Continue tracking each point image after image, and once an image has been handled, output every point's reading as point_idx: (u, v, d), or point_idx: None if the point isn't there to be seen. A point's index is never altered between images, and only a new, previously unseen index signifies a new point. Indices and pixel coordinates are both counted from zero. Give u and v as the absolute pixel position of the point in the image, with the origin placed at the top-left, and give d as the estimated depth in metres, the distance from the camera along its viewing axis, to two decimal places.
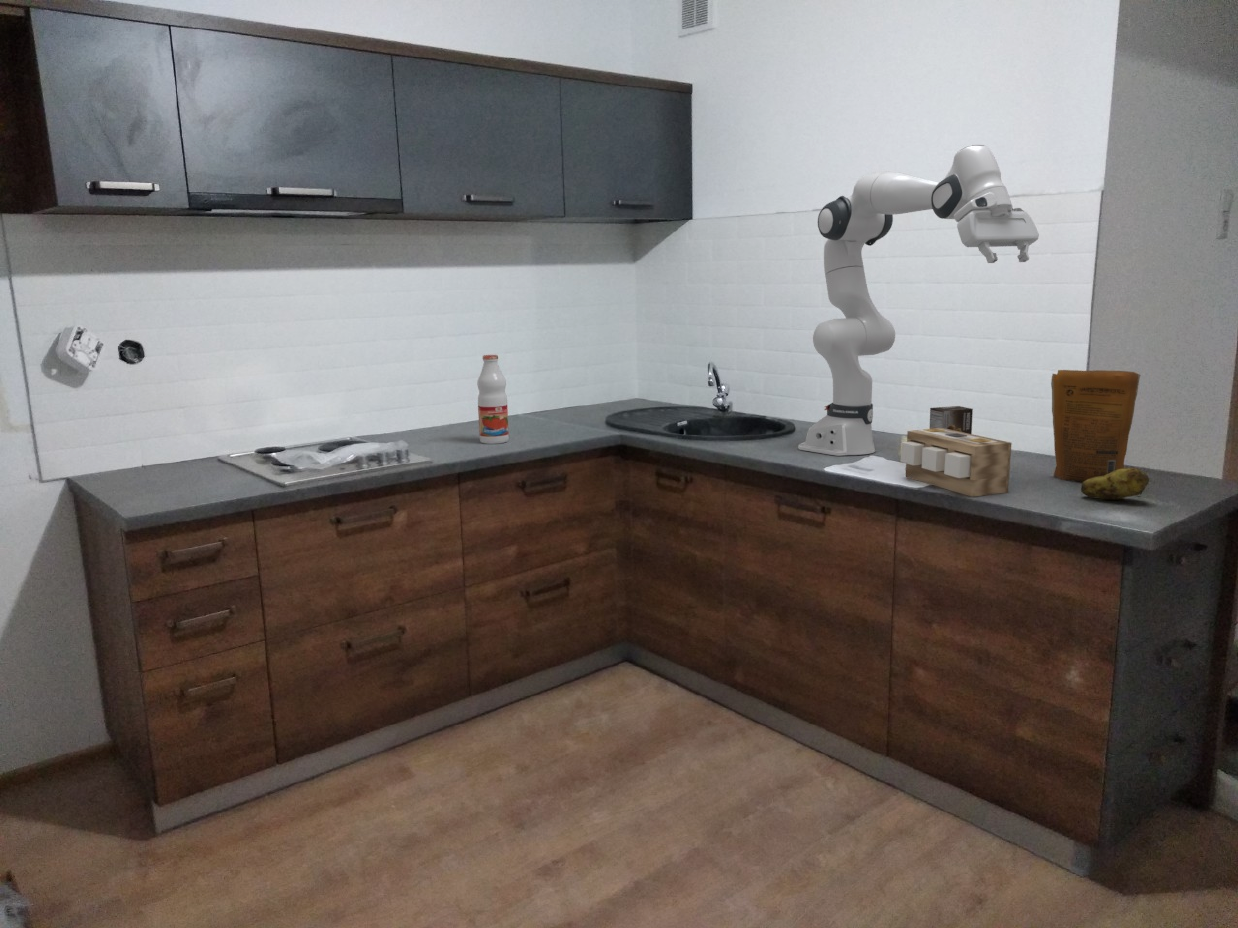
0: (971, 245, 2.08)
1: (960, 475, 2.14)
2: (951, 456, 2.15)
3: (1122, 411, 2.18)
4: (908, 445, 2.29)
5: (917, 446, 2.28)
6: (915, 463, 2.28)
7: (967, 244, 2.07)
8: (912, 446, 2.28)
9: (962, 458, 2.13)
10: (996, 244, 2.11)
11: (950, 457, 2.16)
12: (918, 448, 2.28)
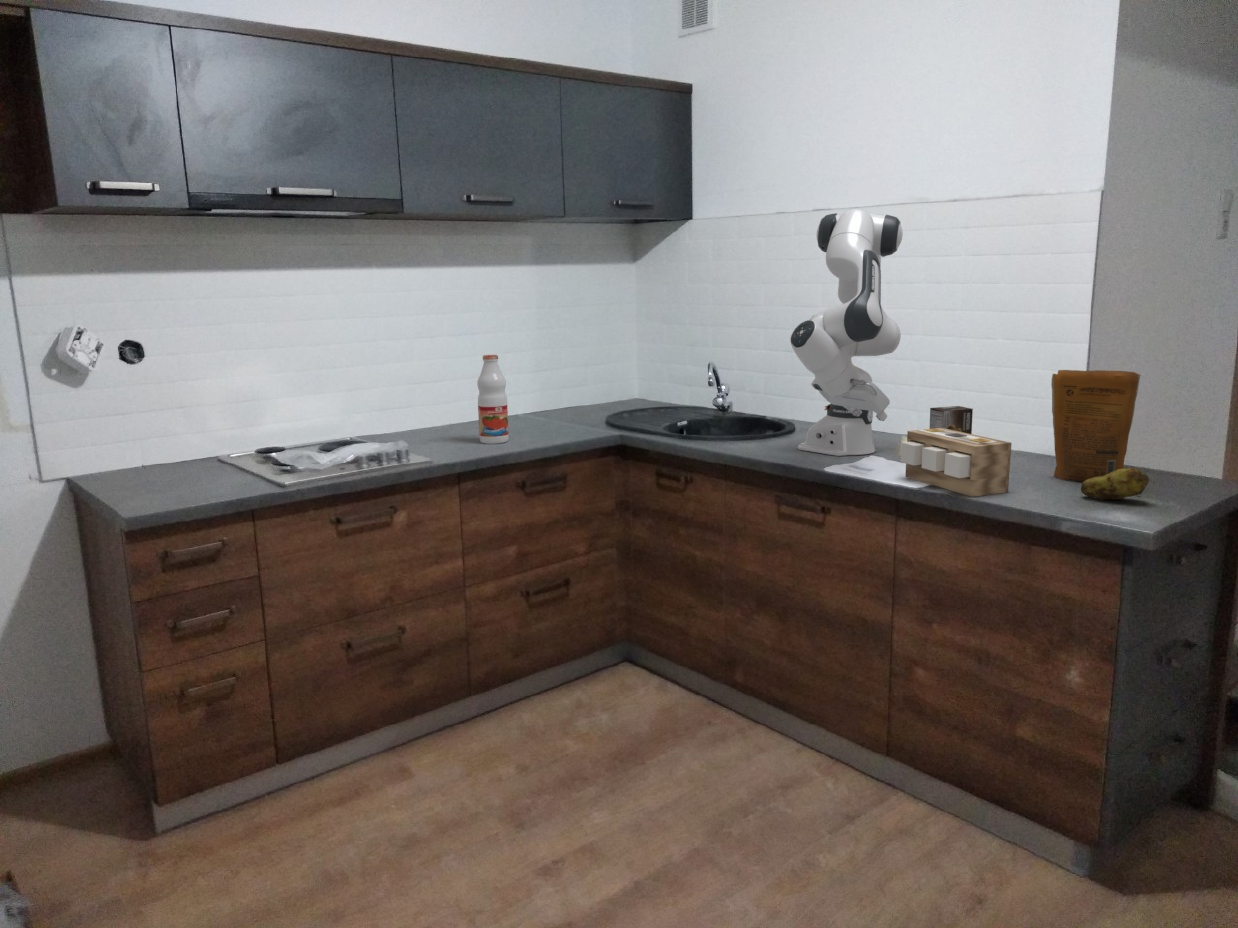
0: None
1: (960, 475, 2.14)
2: (951, 456, 2.15)
3: (1122, 411, 2.18)
4: (908, 445, 2.29)
5: (917, 446, 2.28)
6: (915, 463, 2.28)
7: None
8: (912, 446, 2.28)
9: (962, 458, 2.13)
10: None
11: (950, 457, 2.16)
12: (918, 448, 2.28)
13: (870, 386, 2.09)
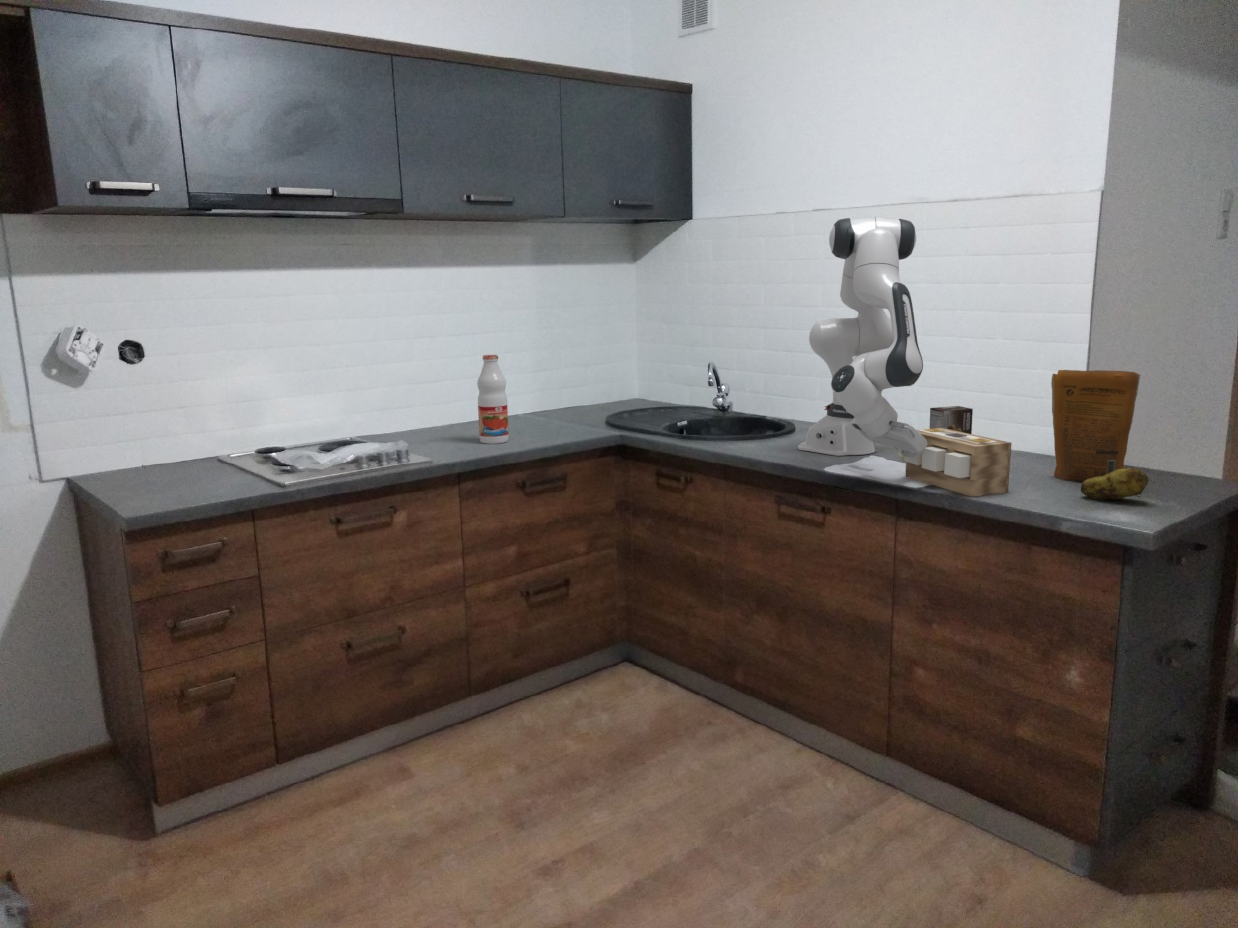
0: None
1: (960, 475, 2.14)
2: (951, 456, 2.15)
3: (1122, 411, 2.18)
4: None
5: None
6: (919, 463, 2.29)
7: None
8: None
9: (962, 458, 2.13)
10: None
11: (950, 457, 2.16)
12: None
13: (908, 429, 2.16)
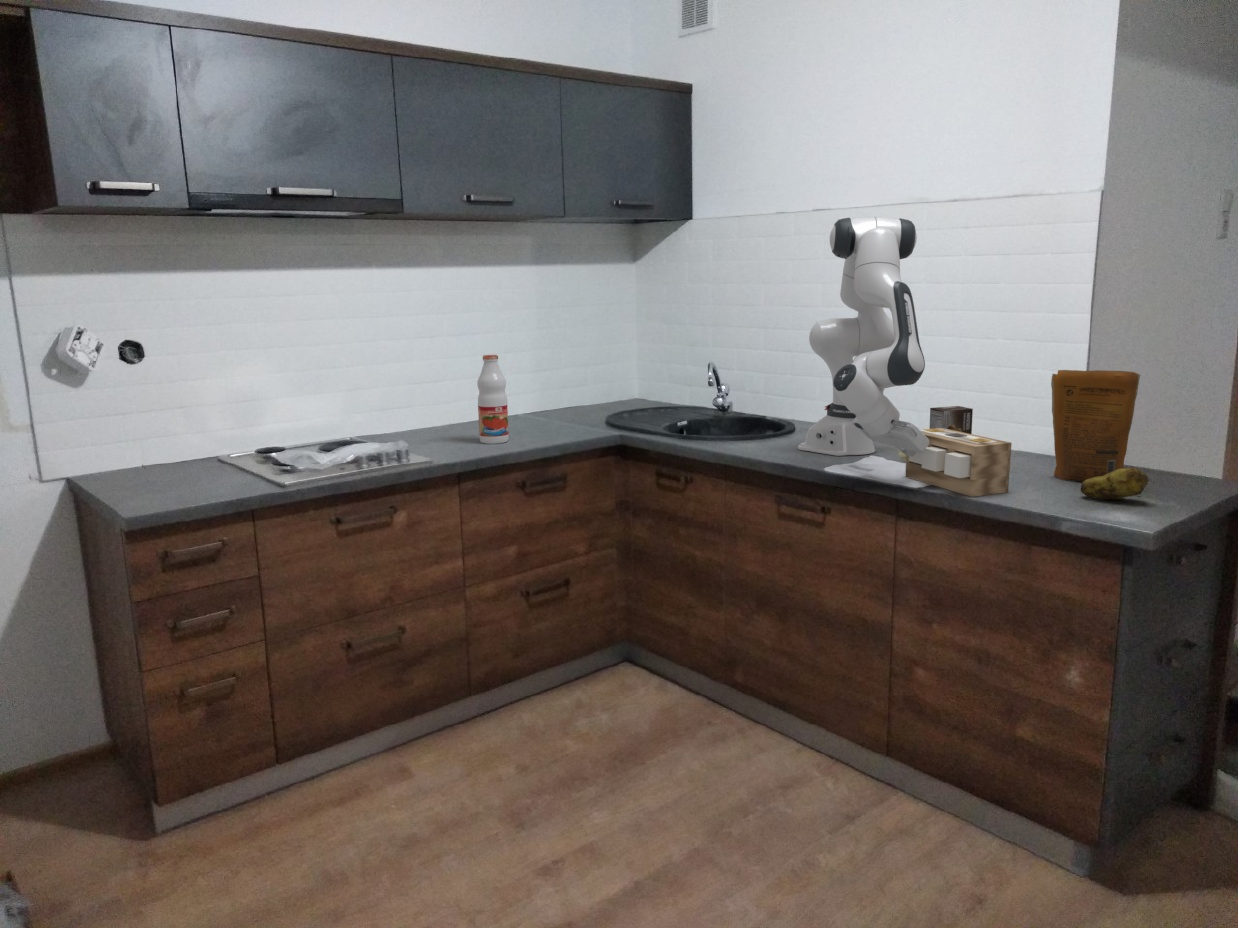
0: None
1: (960, 475, 2.14)
2: (951, 456, 2.15)
3: (1122, 411, 2.18)
4: None
5: None
6: None
7: None
8: None
9: (962, 458, 2.13)
10: None
11: (950, 457, 2.16)
12: None
13: (911, 428, 2.16)
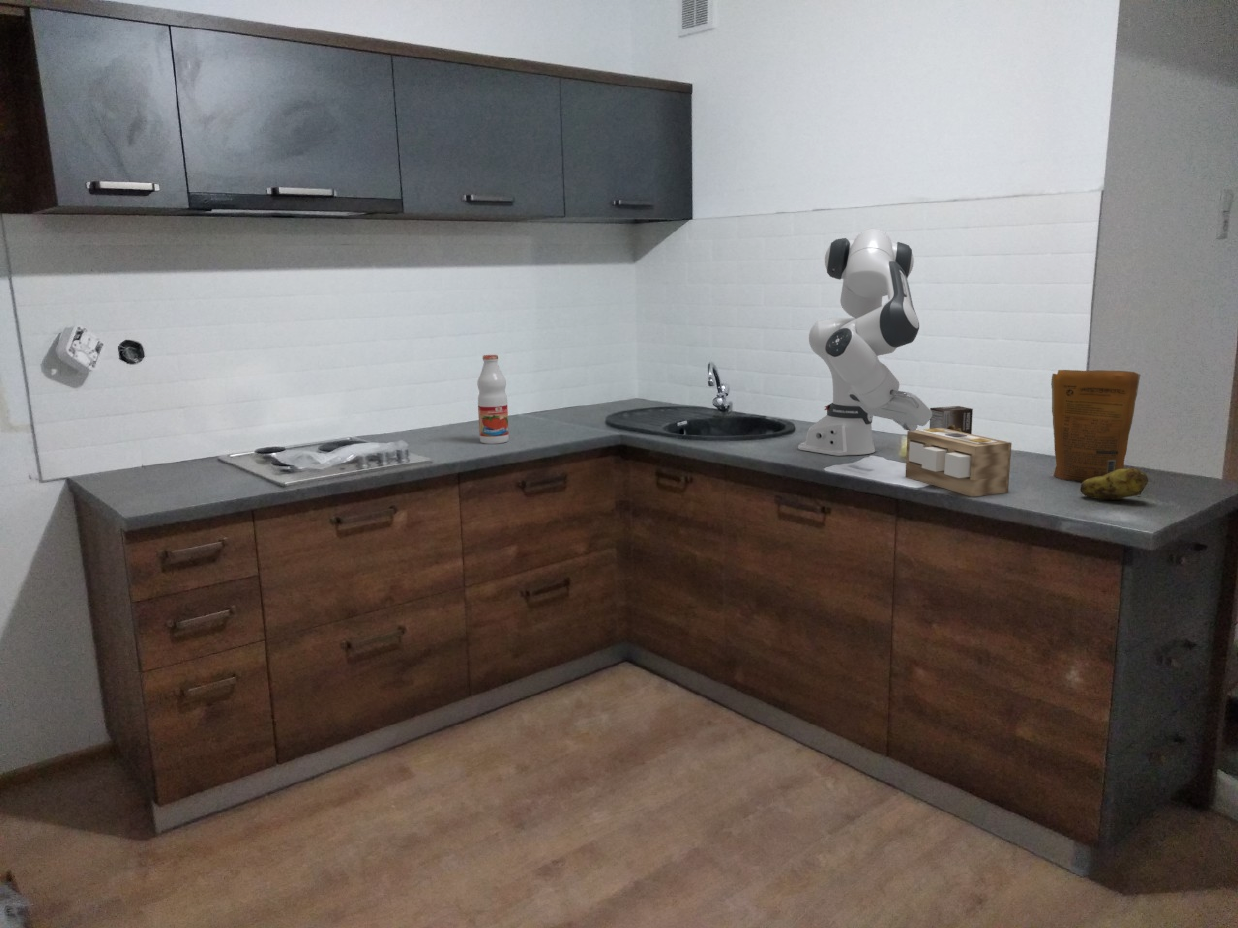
0: None
1: (960, 475, 2.14)
2: (951, 456, 2.15)
3: (1122, 411, 2.18)
4: (917, 444, 2.30)
5: None
6: None
7: None
8: (921, 445, 2.29)
9: (962, 458, 2.13)
10: None
11: (950, 457, 2.16)
12: None
13: (911, 398, 1.95)
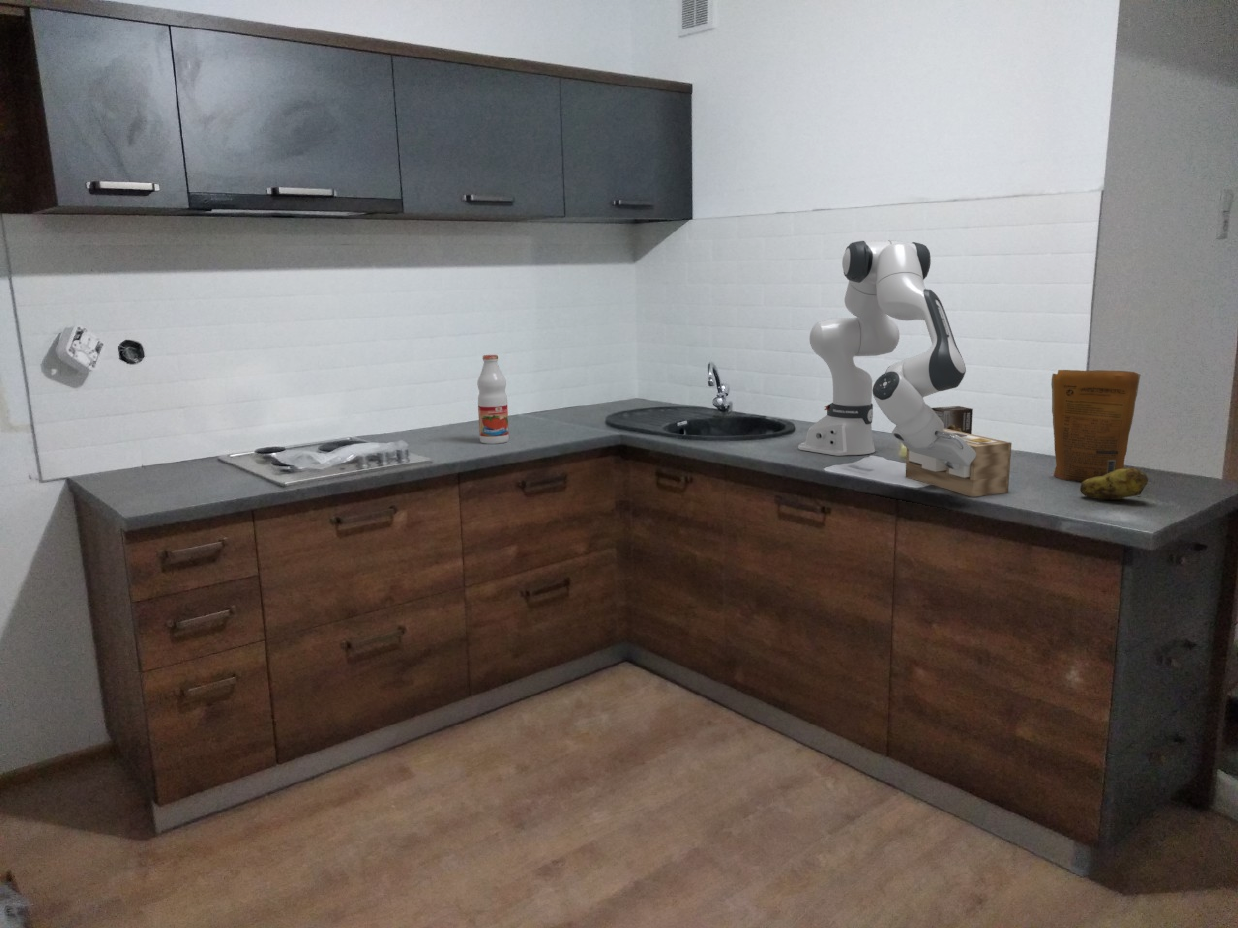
0: None
1: (965, 474, 2.14)
2: None
3: (1122, 411, 2.18)
4: None
5: None
6: None
7: None
8: None
9: None
10: None
11: None
12: None
13: (957, 440, 2.02)
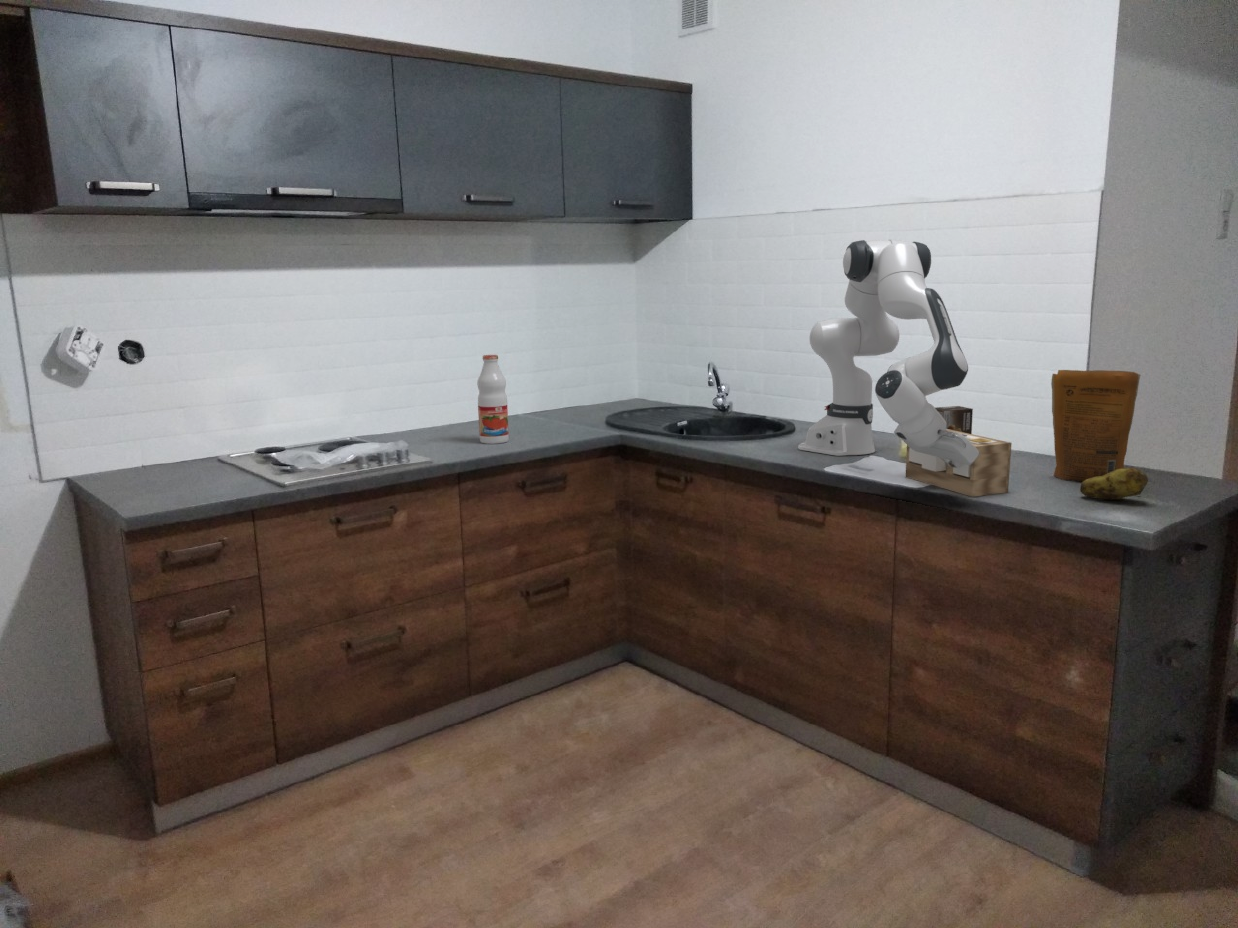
0: None
1: (969, 474, 2.15)
2: None
3: (1122, 411, 2.18)
4: None
5: None
6: None
7: None
8: None
9: None
10: None
11: None
12: None
13: (960, 439, 2.02)
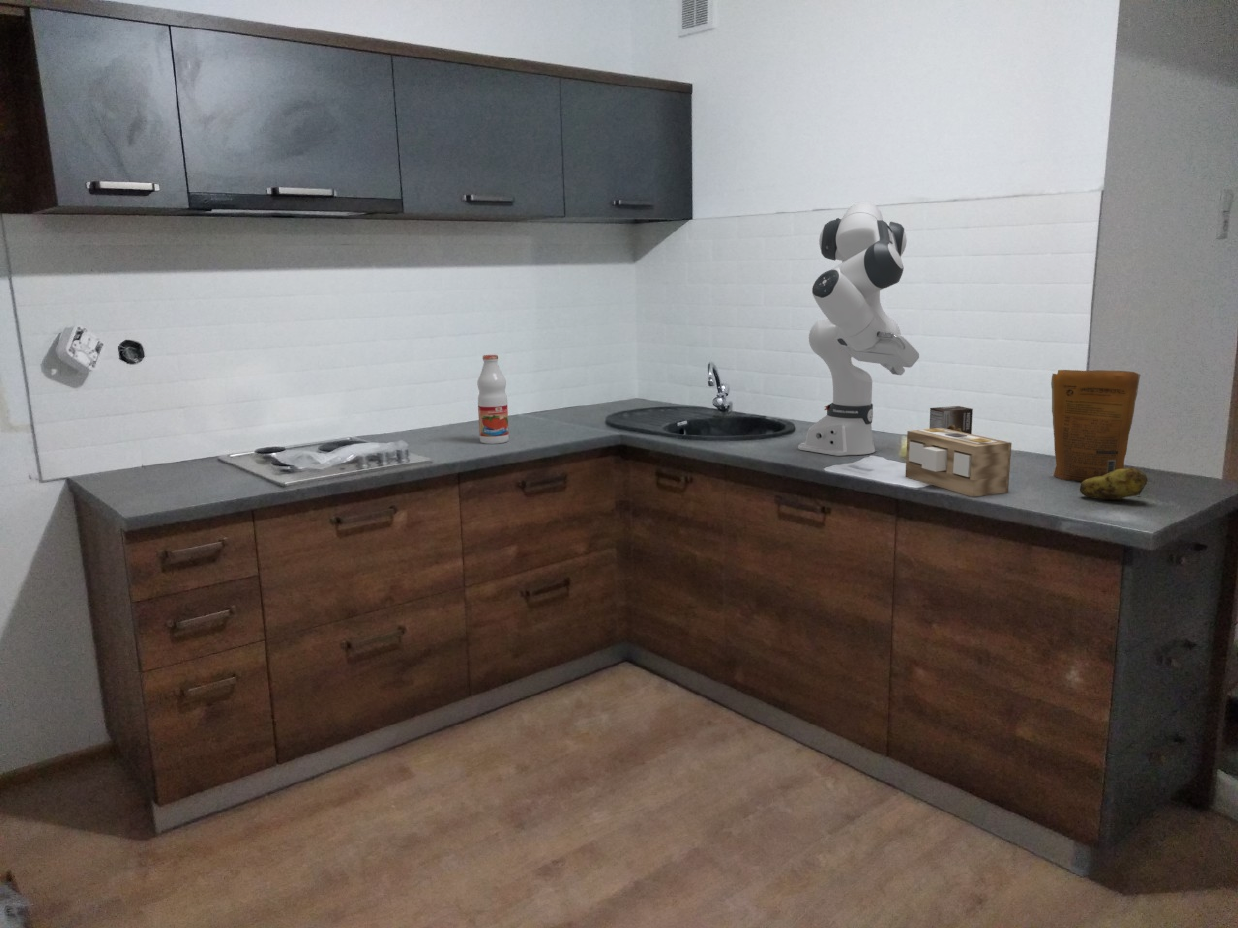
0: None
1: (969, 474, 2.15)
2: (960, 455, 2.16)
3: (1122, 411, 2.18)
4: (917, 444, 2.30)
5: None
6: None
7: None
8: (921, 445, 2.29)
9: (971, 457, 2.14)
10: None
11: (958, 456, 2.17)
12: None
13: (898, 339, 1.95)
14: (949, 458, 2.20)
